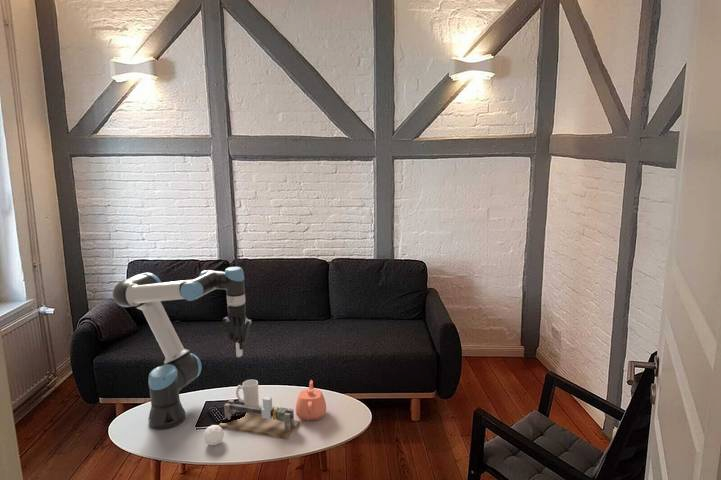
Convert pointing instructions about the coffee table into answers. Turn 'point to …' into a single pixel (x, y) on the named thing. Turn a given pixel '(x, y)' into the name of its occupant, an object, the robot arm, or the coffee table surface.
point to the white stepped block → (267, 408)
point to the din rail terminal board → (261, 421)
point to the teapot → (310, 404)
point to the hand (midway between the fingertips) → (239, 355)
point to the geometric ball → (213, 434)
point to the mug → (249, 393)
